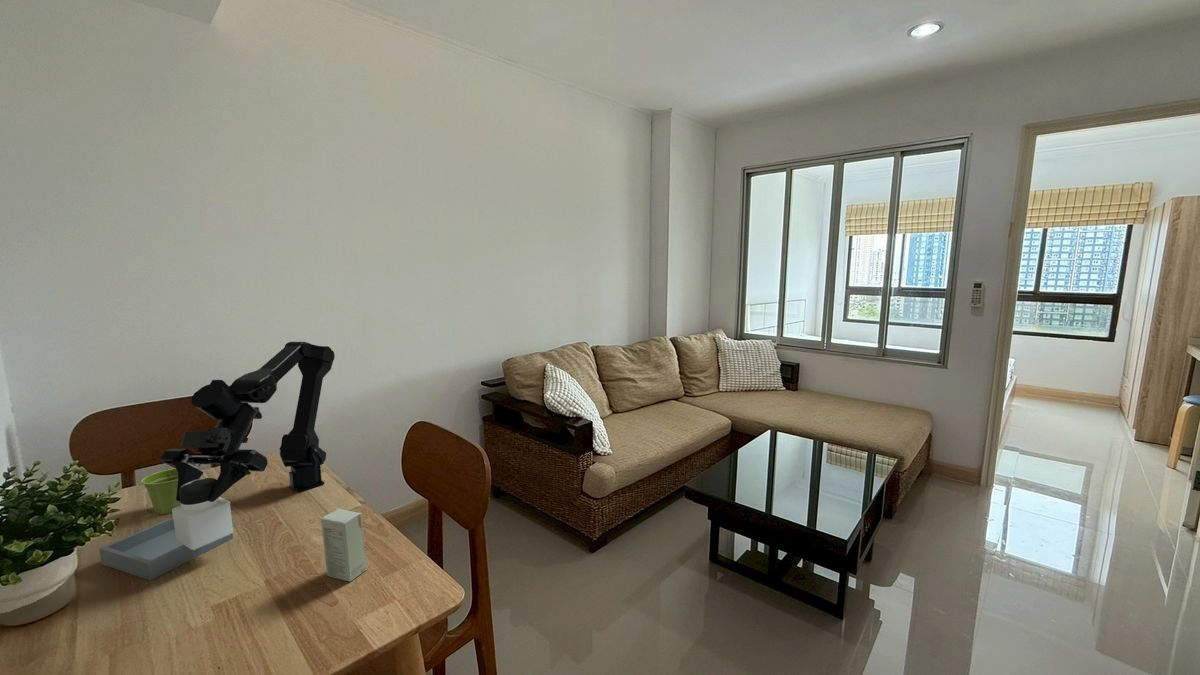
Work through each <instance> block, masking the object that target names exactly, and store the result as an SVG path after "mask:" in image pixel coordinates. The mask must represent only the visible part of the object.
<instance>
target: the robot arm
mask: <svg viewBox="0 0 1200 675" xmlns="http://www.w3.org/2000/svg"><path fill="white" fill-rule="evenodd" d="M284 345H285V346H284V347H283V348H282V349H281V350H280V351H279V352H278V353H276V354H275V355H274V356H273V357H272V358H270V359H269V360H267V362H266V363H265V364H263V365H262V366H261V367H260V368H258V369H257V370H255V371H254V370H253V371H250V372H248V373H245V374H243V375H242V376H240V377H238V378H236V379H234V380H233V382H232V383H231V384H230V385H228V384H227V383H226V382H225V380H223V379H212V380H211V381H210V383H209V384H207V385H204V386H202V387H200V388H199V389H198V390H197V391H195V392H194V393H193V394H192V396H191V400H190V401H191V404H192V405H193V407H195V408H197V409H198V410H199V411H201V412H203V413H204V414H205V415H207V416H209V417H210V418H212V419H214V420H217V421H218V422H217V423H216V425H215V427H209V428H208V429H207V430H206V431H199V430H197V431H196V430H195V431H189V430H187V431H186V430H185V431H184V433H183V436H182V441H181V444H180V448H169V449H167V450H164V452H163V454H162V455H161V457H160V459H159V462H161V463H163V464H166V465H168V466H169V467H172V468H173V469H174V468H176V469H177V471H178V486H177V495H176V500H177V501H179V502H180V495H179V489H180V488H181V487H182V486H183V485H184V484H186V483H188V482H190V481H193V480H197V479H201V478H202V476H203V474H204V471H202V470H200V469H199V468H200V466H201V465H220V466H219V467H220V468H219V472H220V473H219V475H218V477H217V479H216V480H217V481H216V483H215V485H214V487H213V489H212V491H211V493H210V496H209V499H208V501H210V502H214V501H215V500H216V499H217V498H218V497H221V496H222V495H223V494H224V493H225V492H227V490H229V489H230V488H231V487H232V486H234V485H236V483H238V482H239V481H241V480H242V479H243V478H244V477H246V476H250V475H251V473H252V472H264V471H265V470H266V468H267V466H268V458H267V457H266V456H265V455H263V454H262V453H260V452H258V451H257V450H256V449H241V448H240V447H241V445H242V444H247V443H248V441H249V437H246V435H247V433H248V432H249V430H250V427H251V426H252V423H253V421H254V420H261V419H262V418H263V416H262V412H261V411H260V407H259V406H253V405H251V404H266V403H267V402H268V401H270V399H271V398H272V397H273V396H274V394H275V393H276V391H277V390H278V383H279V381H280V380H281V379H282V378H283V377H285V376H286V375H287V374H288V373H289V372H290V371H291V370H292V369H293V368H294V367H295V366H296V365H297V367H298V369H299V371H300V374H301V376H302V377H301V384H300V389H299V395H298V400H297V403H296V404H297V405H296V409H295V415H294V421H293V425H292V426H293V427H292V429H291V430H290V431H289V432H288V433H286V434H285V433H284V434H283V436H282V437H281V443H280V447H279V448H278V449H279V457H280V459H281V460H282V463H283V466H284V467H285V468H289V467H290V471H288V477H289V486H290V487H291V488H293V489H294V491H295V490H296V492H297V493H300V492H305V491H306V490H310V489H313V488H316V486H317V487H319V486H322V485H325V481H323V480H322V469H321V466H322V465H324V463H325V461H326V460H327V451H324V450H323V449H322V448H321V447H320V446H319V444H320V439H319V437H318V435H317V433H316V431H315V426H316V421H317V414H318V409H319V404H320V403H319V402H320V398H321V392H322V385H323V380H324V377H326V376H327V375H328V373H329V372H330V371H331V370H332V367H333V363H334V360H335V357H336V356H335V352H334V351H333V350H332V348H331V347H330V346H327V345H323V346H322V345H316V344H312V343H309V342H306V341H289V342H287V343H286V344H284ZM187 447H188V448H189V447H190V448H194V451H196V452H198V453H201V454H197V453H195V452H193V451H191V450H190V449H188V448H187Z"/></svg>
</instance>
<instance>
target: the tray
mask: <svg viewBox="0 0 1200 675" xmlns="http://www.w3.org/2000/svg"><path fill="white" fill-rule="evenodd" d="M233 534H234V533H232V534H230V535H228V536H225V537H223V538H221V539H218V540H216V541H214V542H211V543H209V544H207V545H205V546H202V547H200V548H198V549H195V550H191V549H190V548H188V547H186V546H185V545H183V544H181V543H180V542H178V541H177V540H176V534H175V528H174V521H173V516H171V517H170V518H168V519H166V520H163V521H161V522H158V523H156V524H154V525H151V526H149V527H147V528H144V529H141V530H139V531H137V532H134V533H132V534H130V535H127V536H125V537H123V538H121V539H118V540H115V541H114V542H111V543H109V544H106V545H104V546H101V547H99V554H100V555H99V556H100V562H101V565H102V564H105V565H107V566H106V567H108V566H110V567H109V568H111V567H113V568H112V569H114V568H115V569H114V570H117V569H118V571H120V570H121V572H123V571H124V572H125V573H127V574H130V575H133V576H135V577H139V578H141V579H145V580H148V581H152V580H154V579H156V578H158V577H160V576H162V575H163V574H165V573H168V572H169V571H171V570H174V569H175V568H177V567H179V566H182V565H183V564H186V563H187V562H189V561H191V560H194V558H197V557H199V556H201V555H202V554H205V553H207V552H209V551H211V550H212V549H215V548H216V547H218V546H221V545H222V544H224V543H226V542H228V541H230V540H232V539H233V538H234V536H233ZM105 565H104V566H105Z"/></svg>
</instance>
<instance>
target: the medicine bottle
mask: <svg viewBox="0 0 1200 675" xmlns="http://www.w3.org/2000/svg"><path fill="white" fill-rule="evenodd" d="M216 481H217V479H216V478H213V477H200V478H199V479H197V480H193V481H190V482H188V483H186V484H184V485H183V486H182V487H181V488H180V489H179V495H180V502H181V506H178V507H175V508H173V509H172V517H173V521H174V528H175V534H176V540H177V541H178V542H180V543H181V544H183V545H185V546H186V547H188V548H190V549H191V550H195V549H198V548H200V547H202V546H205V545H207V544H209V543H211V542H214V541H216V540H218V539H221V538H223V537H225V536H228V535H230V534H234V532H235V529H234V522H233V521H234V520H233V514H232V505H231V501H229V500H227V499H225V498H222V497H221V496H220V497H218V498H217V499H216V500H215V501H214V502H210V501H208V499H209V496H210V493H211V491H212V489H213V487H214V485H215V483H216Z"/></svg>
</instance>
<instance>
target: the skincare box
mask: <svg viewBox="0 0 1200 675" xmlns="http://www.w3.org/2000/svg"><path fill="white" fill-rule="evenodd" d="M320 520H321V529H322V530H321V532H322V538H323V540H322V541H323V550H324V558H325V559H324V560H325V568H326V569H325V570H326V576H327V577H330V578H334V579H337V580H341V581H345V582H346V581H347V582H352V581H354V580H355V579H356V578H357V577H359V576H360V575H361V574H363V573H364V572H365V571H366V570H368V564H367V554H366V543H365V533H364V524H363V523H364V521H363V512H361V511H360V512H359V511H355V510H351V509H344V508H340V507H339V508H337V509H335V510H334V511H332V512H330V513H329V514H327V515H325V516H323V517H321V518H320Z"/></svg>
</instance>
